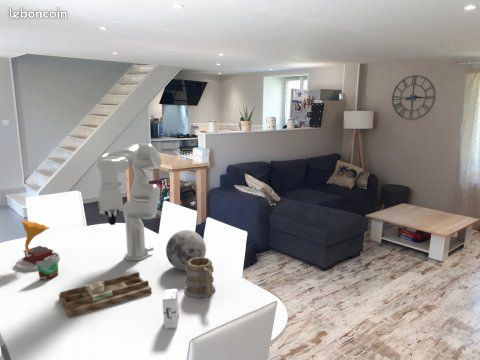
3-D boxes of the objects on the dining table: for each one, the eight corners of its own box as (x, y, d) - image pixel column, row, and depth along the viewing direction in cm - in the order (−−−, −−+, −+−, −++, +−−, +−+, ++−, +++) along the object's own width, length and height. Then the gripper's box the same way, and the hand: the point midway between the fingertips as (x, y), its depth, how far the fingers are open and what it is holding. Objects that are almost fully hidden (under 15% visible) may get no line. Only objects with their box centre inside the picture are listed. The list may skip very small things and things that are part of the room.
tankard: (182, 287, 168) (181, 256, 165) (208, 282, 173) (208, 252, 170) (195, 308, 150) (194, 274, 147) (224, 302, 155) (223, 269, 152)
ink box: (166, 316, 144) (165, 288, 142) (179, 316, 144) (178, 287, 142) (163, 329, 135) (162, 299, 133) (177, 328, 136) (176, 299, 134)
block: (100, 289, 160) (100, 281, 159) (104, 294, 156) (103, 285, 155) (88, 293, 157) (88, 284, 156) (92, 297, 153) (91, 288, 152)
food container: (49, 282, 172) (47, 262, 170) (37, 281, 173) (35, 261, 171) (66, 271, 184) (64, 252, 182) (55, 270, 185) (53, 251, 183)
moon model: (185, 257, 202) (185, 222, 198) (214, 266, 190) (213, 229, 187) (158, 270, 186) (156, 232, 182) (187, 280, 174) (186, 240, 171)
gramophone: (29, 274, 180) (24, 226, 176) (8, 265, 191) (2, 219, 186) (68, 260, 197) (64, 216, 193) (46, 253, 208) (42, 210, 203)
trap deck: (136, 278, 177) (136, 269, 176) (151, 293, 162) (151, 283, 162) (59, 299, 157) (58, 289, 156) (68, 318, 142) (67, 307, 142)
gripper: (123, 182, 176) (125, 219, 179) (90, 186, 167) (93, 225, 170) (128, 185, 170) (130, 223, 173) (95, 189, 161) (98, 229, 164)
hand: (112, 224), depth 172 cm, fingers closed
